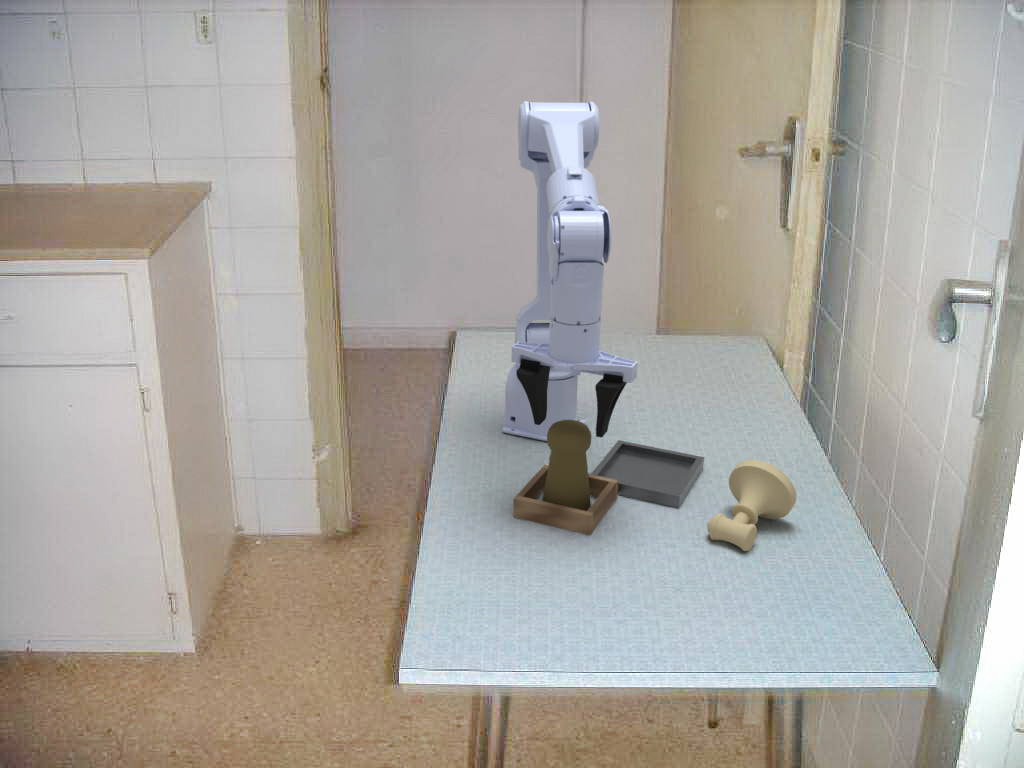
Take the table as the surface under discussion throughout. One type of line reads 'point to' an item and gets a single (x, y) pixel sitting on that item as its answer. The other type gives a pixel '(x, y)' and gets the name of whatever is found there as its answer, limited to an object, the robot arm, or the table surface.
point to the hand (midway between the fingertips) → (570, 427)
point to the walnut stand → (563, 515)
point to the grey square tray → (650, 472)
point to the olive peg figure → (568, 465)
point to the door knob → (753, 502)
